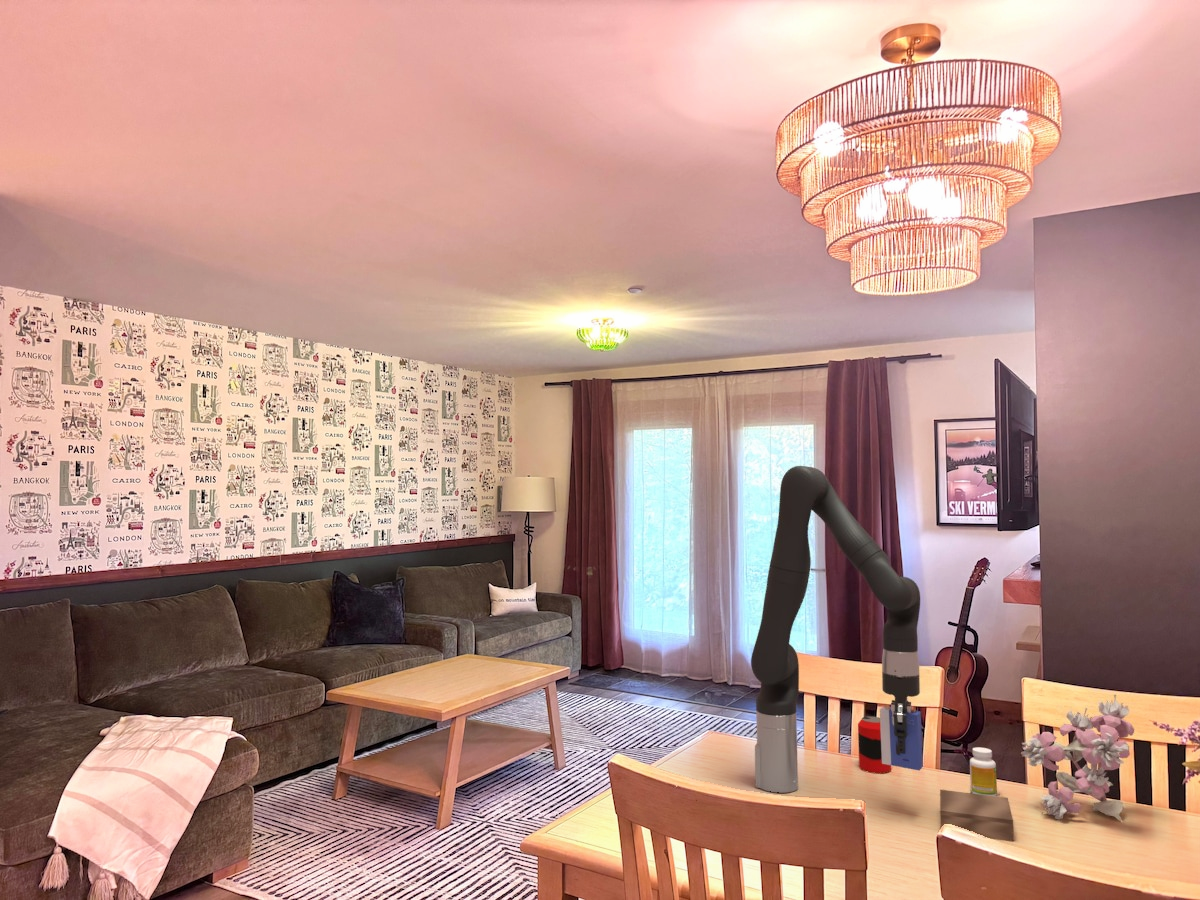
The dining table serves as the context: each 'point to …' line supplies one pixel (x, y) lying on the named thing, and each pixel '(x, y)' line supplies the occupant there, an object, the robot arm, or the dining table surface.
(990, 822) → the walnut stand
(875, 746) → the soda can
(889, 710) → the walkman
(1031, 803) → the dining table surface
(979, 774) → the supplement bottle
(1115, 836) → the dining table surface
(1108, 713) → the flower
